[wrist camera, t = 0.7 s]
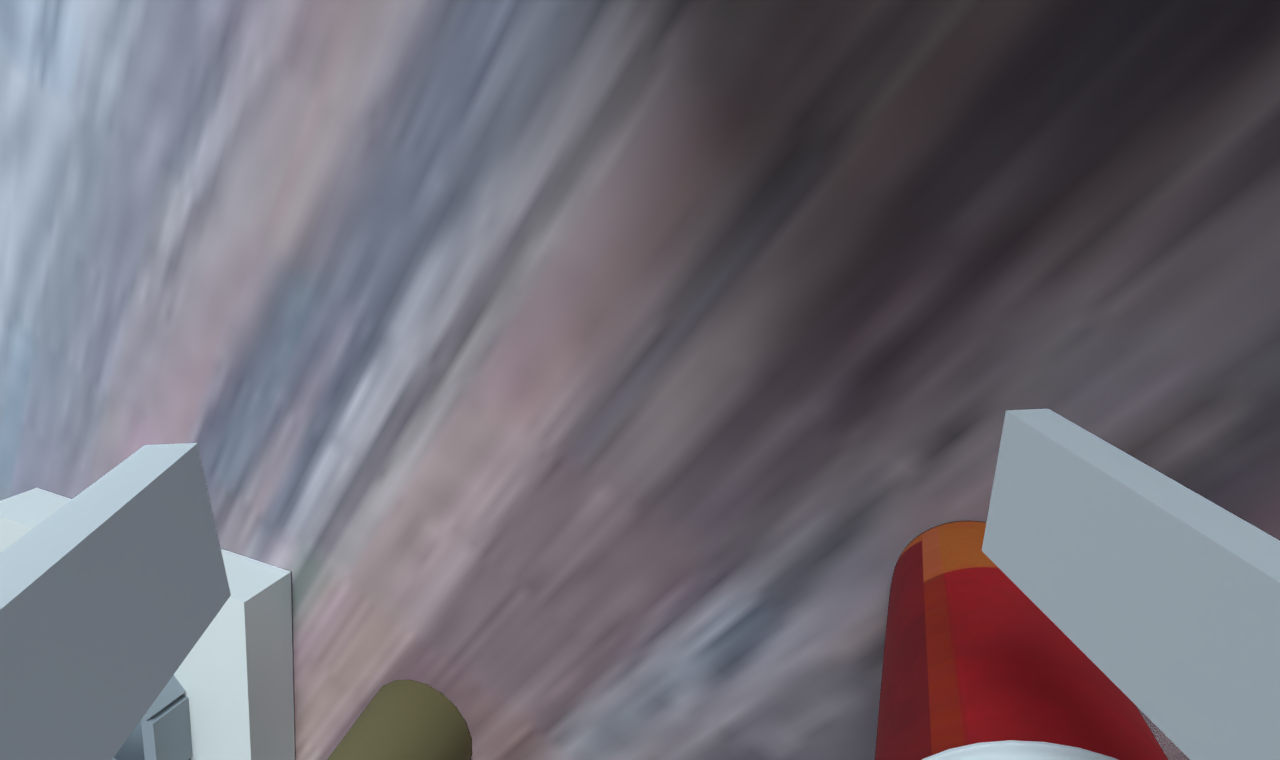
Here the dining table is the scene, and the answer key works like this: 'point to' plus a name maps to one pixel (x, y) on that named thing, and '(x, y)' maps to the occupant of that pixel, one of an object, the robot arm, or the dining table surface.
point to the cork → (407, 727)
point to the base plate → (210, 664)
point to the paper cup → (989, 668)
